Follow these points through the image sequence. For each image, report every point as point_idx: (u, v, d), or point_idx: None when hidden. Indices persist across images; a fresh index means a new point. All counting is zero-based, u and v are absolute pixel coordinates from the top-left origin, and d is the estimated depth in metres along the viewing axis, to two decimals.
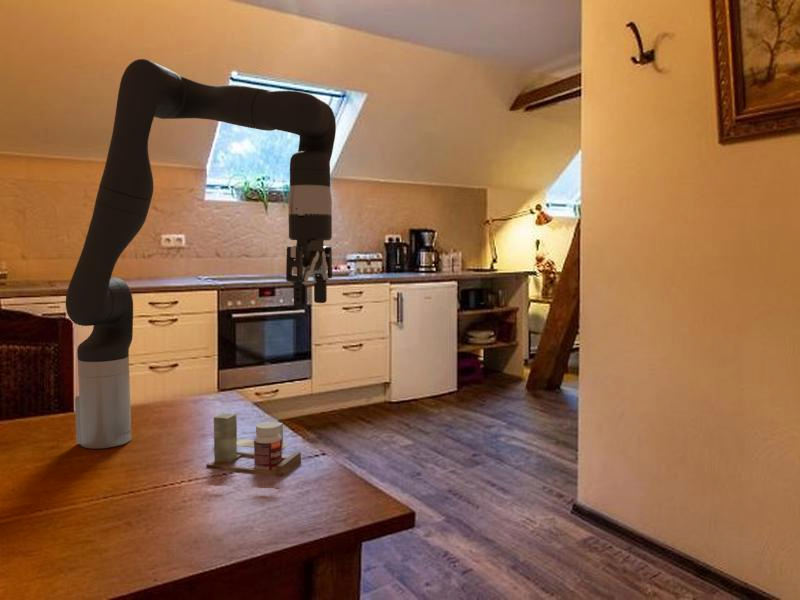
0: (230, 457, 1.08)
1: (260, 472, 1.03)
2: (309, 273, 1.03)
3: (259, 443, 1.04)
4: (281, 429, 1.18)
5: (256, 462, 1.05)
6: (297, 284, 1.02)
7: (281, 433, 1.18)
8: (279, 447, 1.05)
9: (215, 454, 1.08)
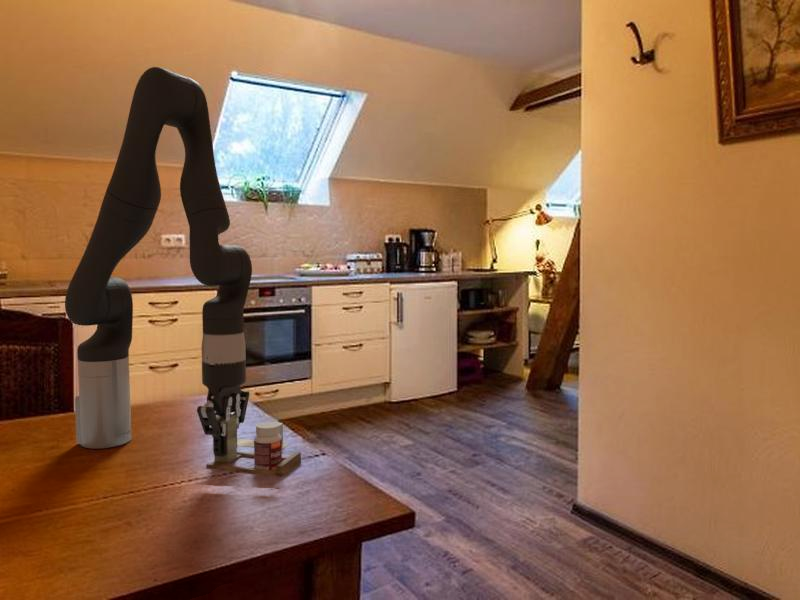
0: (230, 457, 1.08)
1: (260, 472, 1.03)
2: (226, 422, 1.06)
3: (259, 443, 1.04)
4: (281, 429, 1.18)
5: (256, 462, 1.05)
6: (216, 436, 1.05)
7: (281, 433, 1.18)
8: (279, 447, 1.05)
9: None
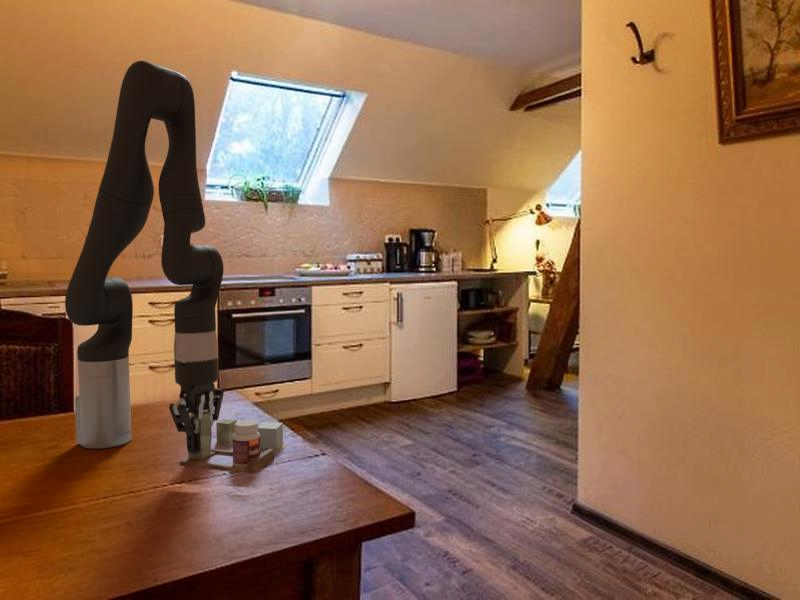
0: (204, 454, 1.09)
1: (232, 469, 1.04)
2: (199, 419, 1.08)
3: (237, 441, 1.05)
4: (281, 429, 1.18)
5: (234, 460, 1.06)
6: (189, 433, 1.07)
7: (281, 433, 1.18)
8: (257, 445, 1.06)
9: None
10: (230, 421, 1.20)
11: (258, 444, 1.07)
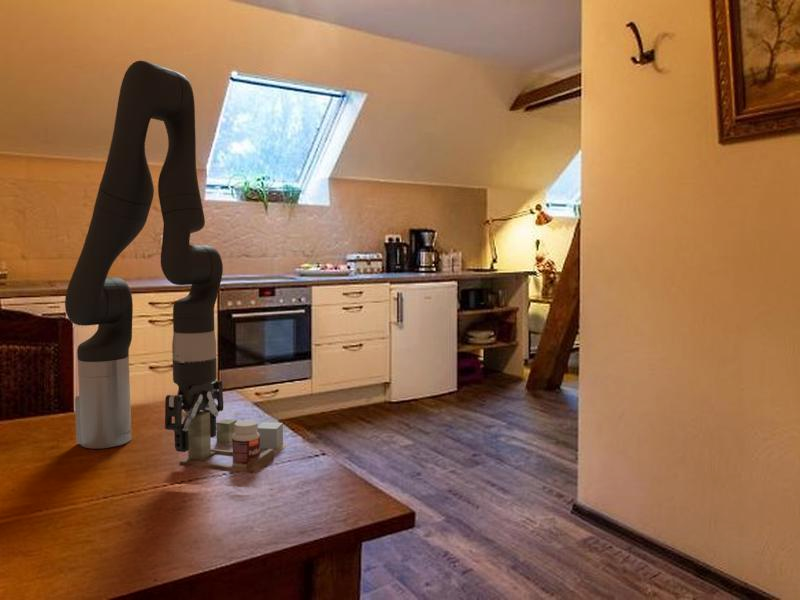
0: (204, 454, 1.09)
1: (232, 469, 1.04)
2: (190, 418, 1.06)
3: (237, 441, 1.05)
4: (281, 429, 1.18)
5: (234, 460, 1.06)
6: (177, 431, 1.05)
7: (281, 433, 1.18)
8: (257, 445, 1.06)
9: (189, 451, 1.09)
10: (230, 421, 1.20)
11: (258, 444, 1.07)
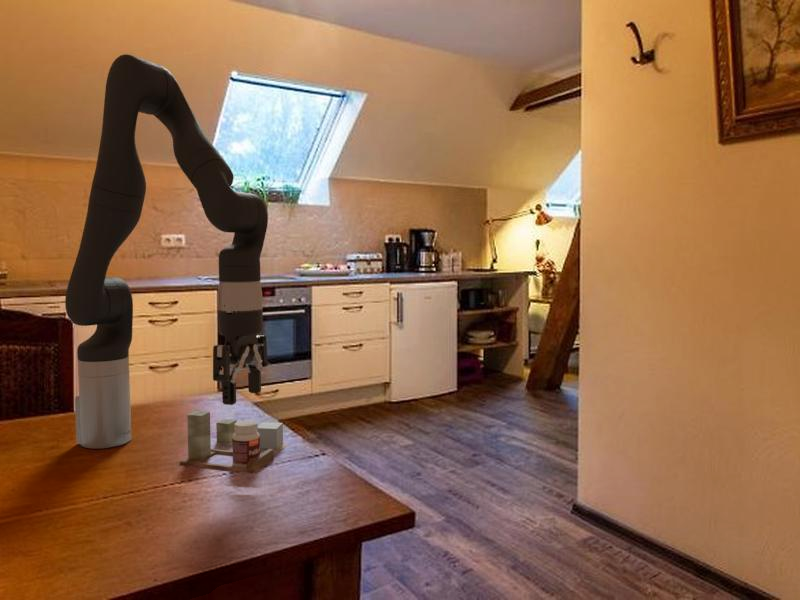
0: (204, 454, 1.09)
1: (232, 469, 1.04)
2: (238, 370, 1.03)
3: (237, 441, 1.05)
4: (281, 429, 1.18)
5: (234, 460, 1.06)
6: (225, 382, 1.01)
7: (281, 433, 1.18)
8: (257, 445, 1.06)
9: (189, 451, 1.09)
10: (230, 421, 1.20)
11: (258, 444, 1.07)
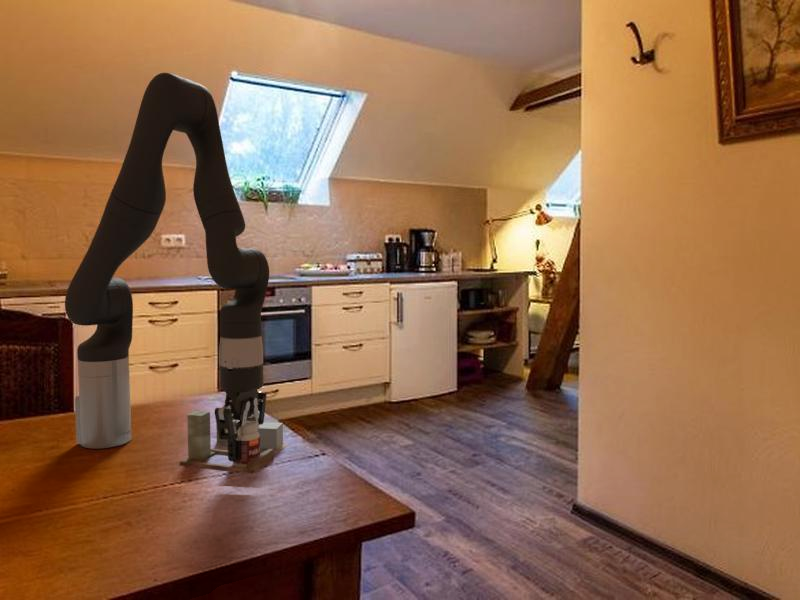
0: (204, 454, 1.09)
1: (232, 469, 1.04)
2: (242, 427, 1.04)
3: None
4: (281, 429, 1.18)
5: None
6: (230, 441, 1.04)
7: (281, 433, 1.18)
8: (257, 445, 1.06)
9: (189, 451, 1.09)
10: None
11: (258, 444, 1.07)
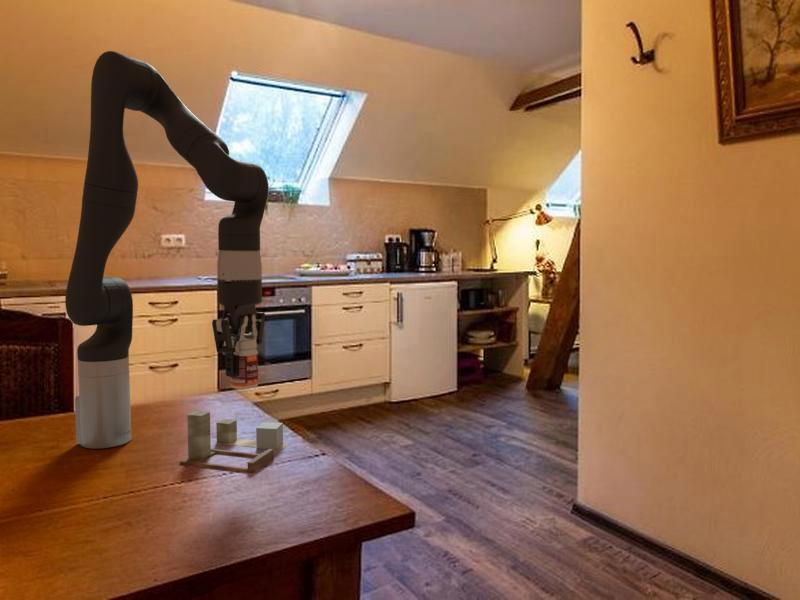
0: (204, 454, 1.09)
1: (232, 469, 1.04)
2: (240, 341, 1.03)
3: None
4: (281, 429, 1.18)
5: None
6: (228, 354, 1.02)
7: (281, 433, 1.18)
8: (255, 361, 1.05)
9: (189, 451, 1.09)
10: (230, 421, 1.20)
11: (256, 361, 1.06)
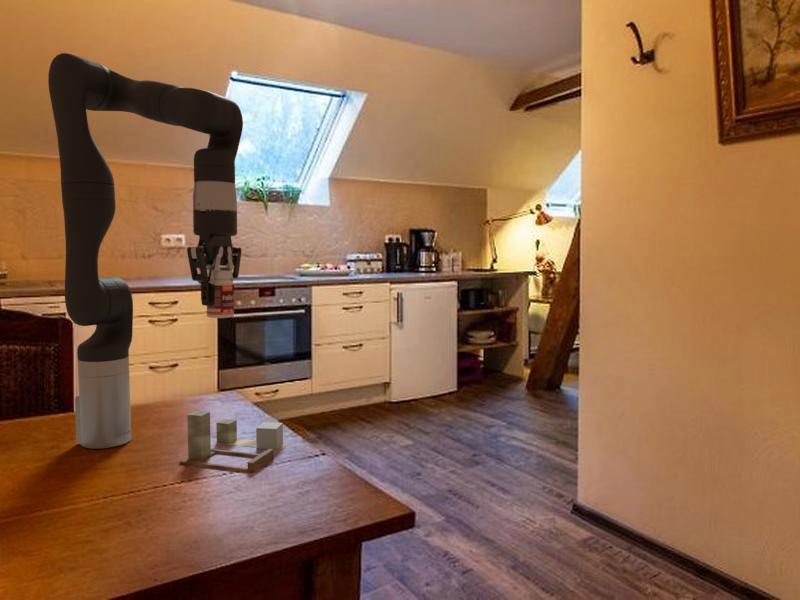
0: (204, 454, 1.09)
1: (232, 469, 1.04)
2: (215, 271, 1.06)
3: None
4: (281, 429, 1.18)
5: None
6: (203, 283, 1.05)
7: (281, 433, 1.18)
8: (231, 291, 1.08)
9: (189, 451, 1.09)
10: (230, 421, 1.20)
11: (232, 291, 1.08)
